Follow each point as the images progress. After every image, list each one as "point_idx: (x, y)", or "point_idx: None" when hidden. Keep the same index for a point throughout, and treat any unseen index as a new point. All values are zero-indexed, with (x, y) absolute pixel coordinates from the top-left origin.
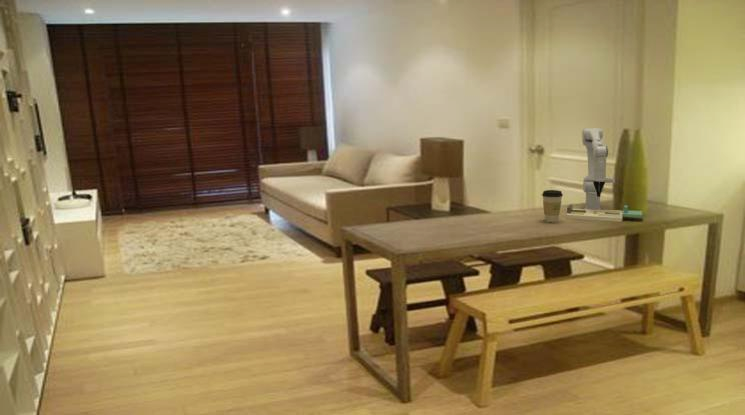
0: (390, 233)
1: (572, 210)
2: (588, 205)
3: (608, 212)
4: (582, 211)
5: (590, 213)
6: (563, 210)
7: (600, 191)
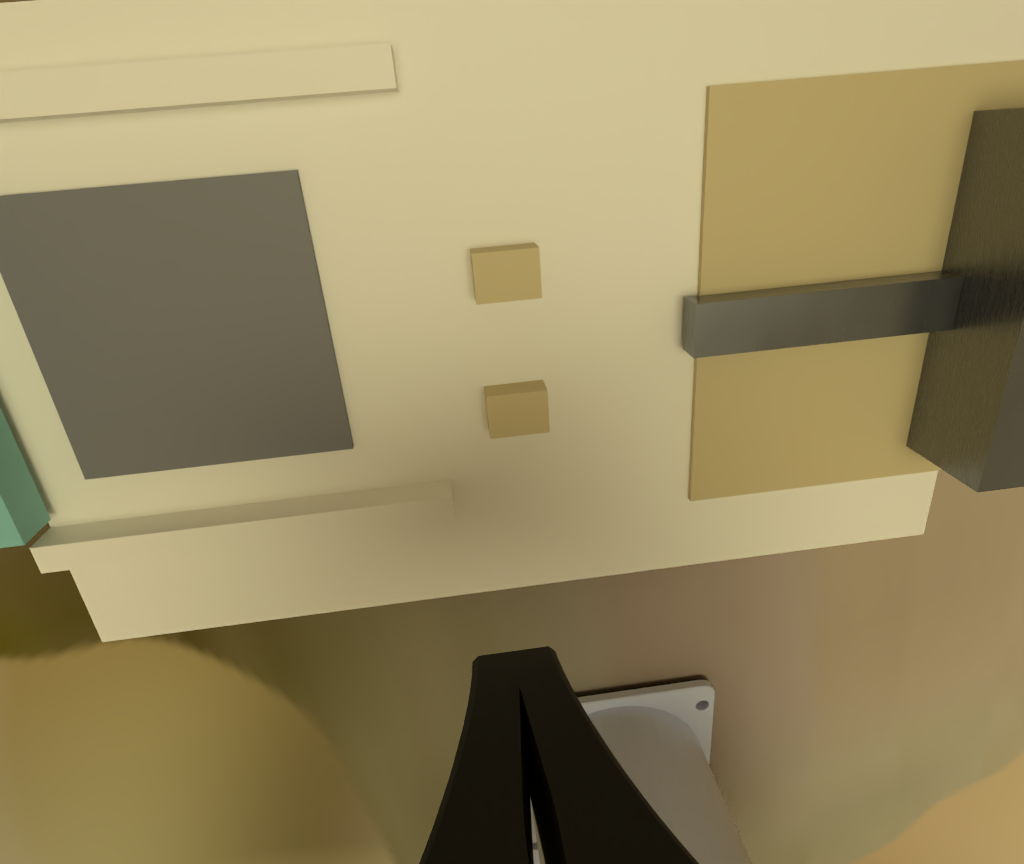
0: None
1: (939, 276)
2: (679, 756)
3: (292, 450)
4: (749, 296)
5: (590, 272)
6: (965, 588)
7: (466, 795)
